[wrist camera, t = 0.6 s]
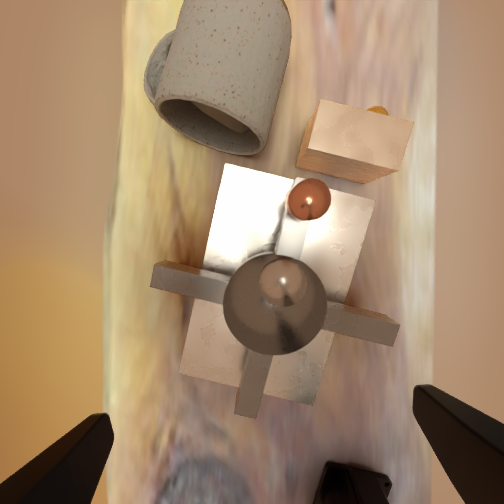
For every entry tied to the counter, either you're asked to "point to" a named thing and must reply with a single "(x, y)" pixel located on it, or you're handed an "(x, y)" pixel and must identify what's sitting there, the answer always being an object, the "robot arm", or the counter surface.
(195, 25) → the ceramic mug
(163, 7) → the counter surface
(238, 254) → the stand
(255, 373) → the capstan
